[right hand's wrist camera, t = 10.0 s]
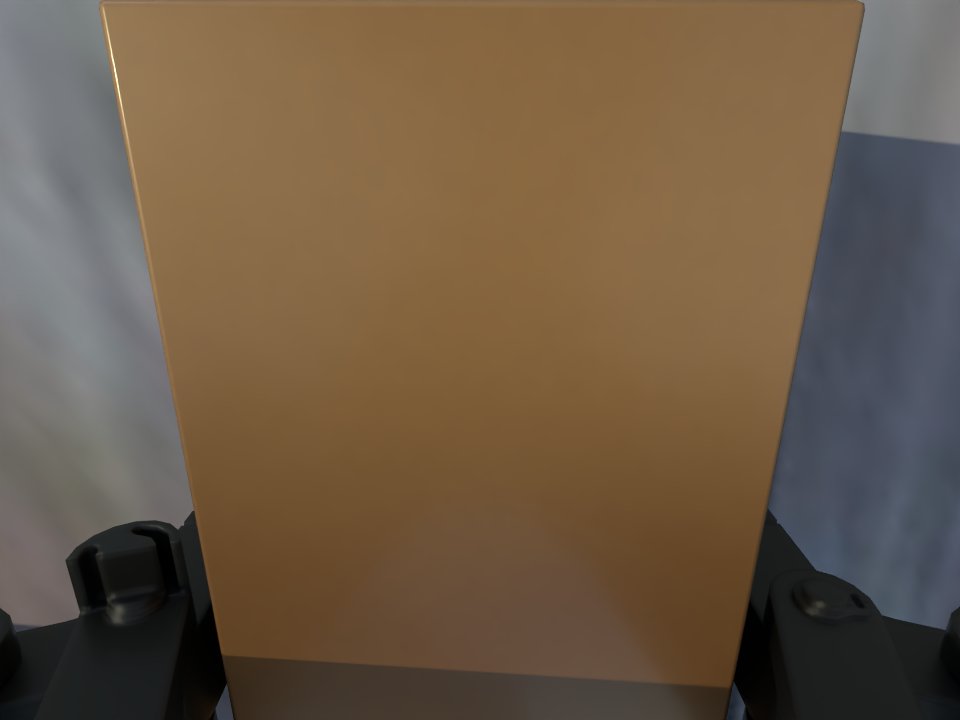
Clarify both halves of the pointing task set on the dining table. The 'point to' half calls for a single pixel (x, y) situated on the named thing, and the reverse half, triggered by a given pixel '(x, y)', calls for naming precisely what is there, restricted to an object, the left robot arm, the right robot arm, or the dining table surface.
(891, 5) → the dining table surface
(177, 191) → the post
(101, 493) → the dining table surface
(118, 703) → the right robot arm
